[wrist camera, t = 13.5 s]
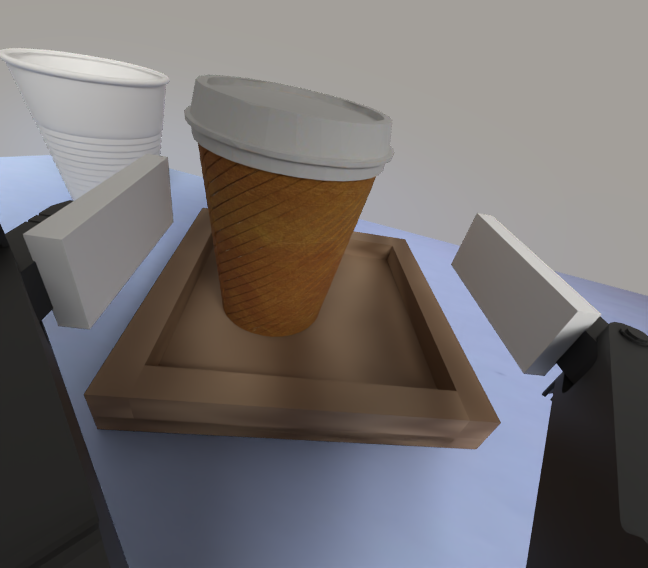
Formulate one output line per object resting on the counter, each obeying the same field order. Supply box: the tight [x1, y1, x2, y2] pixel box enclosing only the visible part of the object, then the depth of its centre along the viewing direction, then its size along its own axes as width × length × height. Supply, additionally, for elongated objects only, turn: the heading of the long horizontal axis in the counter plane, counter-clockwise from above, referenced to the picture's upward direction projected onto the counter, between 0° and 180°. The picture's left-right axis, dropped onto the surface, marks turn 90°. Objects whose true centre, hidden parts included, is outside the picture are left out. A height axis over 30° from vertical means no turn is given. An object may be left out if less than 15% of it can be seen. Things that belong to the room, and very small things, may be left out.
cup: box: [0, 48, 169, 201], centre depth 26 cm, size 10×10×11 cm
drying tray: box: [84, 208, 501, 449], centre depth 22 cm, size 18×18×2 cm
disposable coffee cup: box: [184, 75, 394, 337], centre depth 18 cm, size 10×10×12 cm
